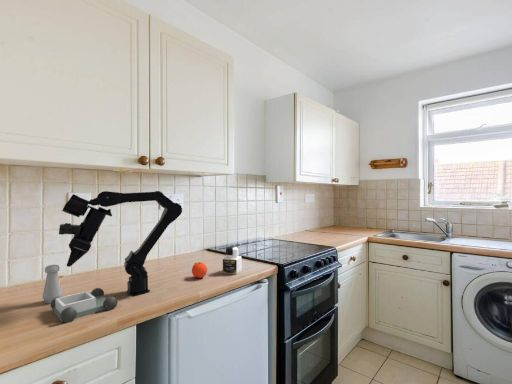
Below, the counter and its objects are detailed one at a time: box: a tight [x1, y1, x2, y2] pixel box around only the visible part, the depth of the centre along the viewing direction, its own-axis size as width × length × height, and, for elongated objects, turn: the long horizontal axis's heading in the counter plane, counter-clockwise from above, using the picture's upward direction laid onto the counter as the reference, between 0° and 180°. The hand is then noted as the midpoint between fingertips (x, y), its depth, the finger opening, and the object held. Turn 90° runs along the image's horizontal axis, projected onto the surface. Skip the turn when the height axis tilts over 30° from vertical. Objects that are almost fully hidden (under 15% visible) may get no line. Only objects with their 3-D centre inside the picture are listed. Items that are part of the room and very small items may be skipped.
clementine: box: [191, 261, 208, 279], centre depth 129 cm, size 8×7×7 cm
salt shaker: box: [42, 264, 63, 305], centre depth 102 cm, size 6×6×13 cm
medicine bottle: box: [222, 246, 243, 275], centre depth 137 cm, size 7×7×12 cm
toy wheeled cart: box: [49, 287, 118, 323], centre depth 95 cm, size 16×14×4 cm
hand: (69, 263), depth 100 cm, fingers open, 9 cm apart
